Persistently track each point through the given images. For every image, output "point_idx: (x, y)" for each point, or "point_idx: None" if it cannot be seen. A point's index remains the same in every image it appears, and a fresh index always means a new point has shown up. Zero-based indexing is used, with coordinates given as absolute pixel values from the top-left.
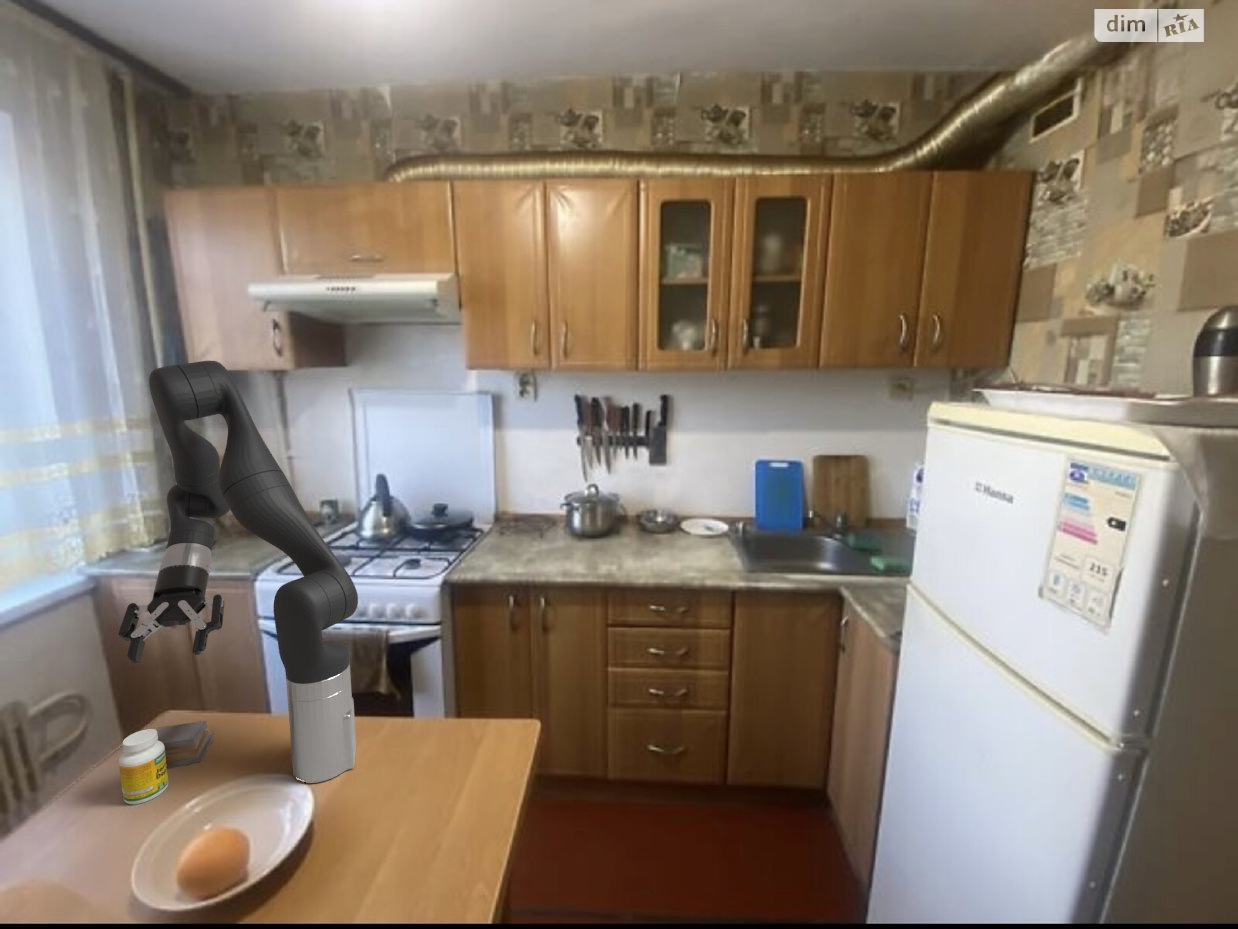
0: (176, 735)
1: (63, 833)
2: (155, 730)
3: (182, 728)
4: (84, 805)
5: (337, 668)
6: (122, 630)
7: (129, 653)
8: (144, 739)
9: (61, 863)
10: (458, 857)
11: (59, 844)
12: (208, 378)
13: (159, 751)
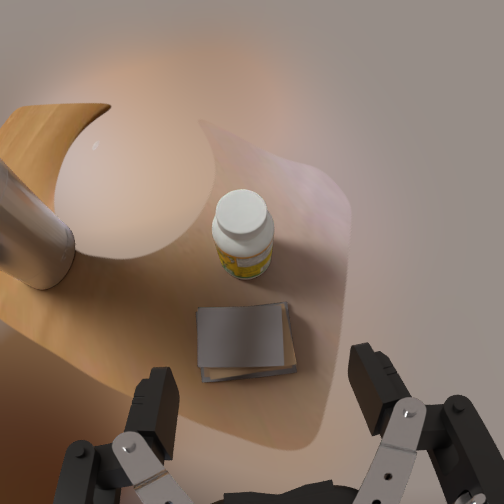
0: (233, 326)
1: (307, 205)
2: (222, 224)
3: (233, 350)
4: (316, 250)
5: None
6: (466, 413)
7: (384, 361)
8: (228, 200)
9: (277, 164)
10: (7, 137)
11: (298, 190)
12: None
13: (213, 220)
